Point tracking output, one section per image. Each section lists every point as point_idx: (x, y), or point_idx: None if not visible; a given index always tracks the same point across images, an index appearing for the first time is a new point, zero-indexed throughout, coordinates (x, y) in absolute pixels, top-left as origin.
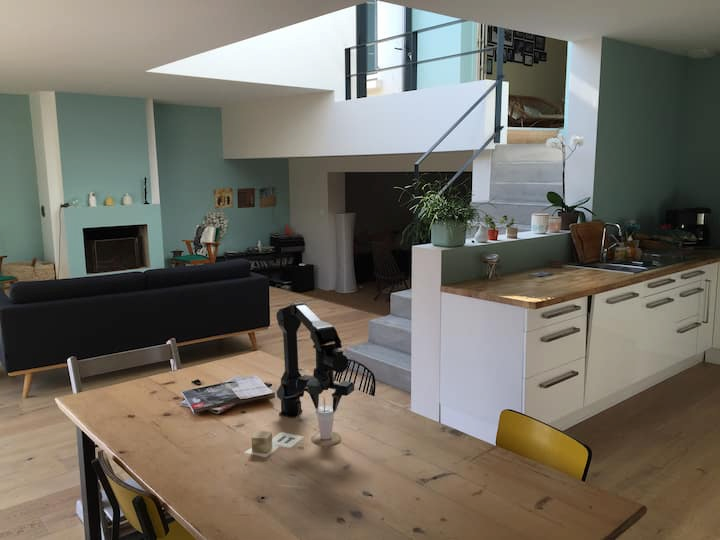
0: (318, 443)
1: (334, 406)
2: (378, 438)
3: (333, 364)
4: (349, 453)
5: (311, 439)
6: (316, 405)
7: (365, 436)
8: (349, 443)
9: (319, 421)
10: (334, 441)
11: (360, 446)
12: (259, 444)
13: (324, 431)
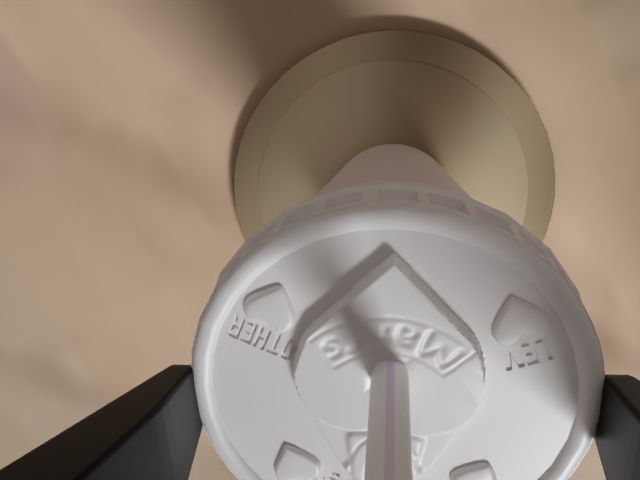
0: (403, 50)
1: (85, 428)
2: (6, 379)
3: None
4: (17, 18)
5: (526, 103)
6: (629, 426)
7: (110, 375)
8: (145, 210)
9: (441, 185)
10: (271, 165)
11: (29, 197)
12: None
13: (364, 159)
